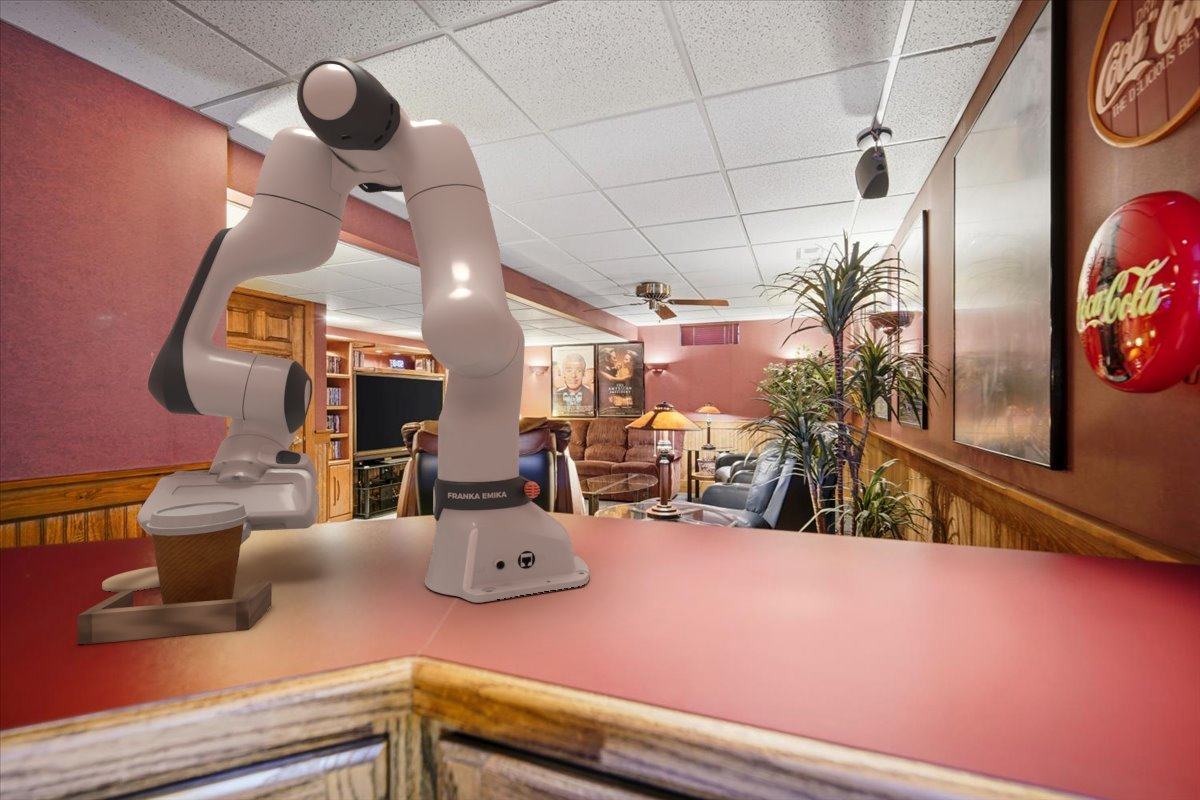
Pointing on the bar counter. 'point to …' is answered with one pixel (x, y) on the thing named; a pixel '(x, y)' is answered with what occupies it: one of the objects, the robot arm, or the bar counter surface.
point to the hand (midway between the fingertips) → (216, 558)
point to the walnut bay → (170, 617)
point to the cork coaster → (133, 580)
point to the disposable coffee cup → (197, 550)
